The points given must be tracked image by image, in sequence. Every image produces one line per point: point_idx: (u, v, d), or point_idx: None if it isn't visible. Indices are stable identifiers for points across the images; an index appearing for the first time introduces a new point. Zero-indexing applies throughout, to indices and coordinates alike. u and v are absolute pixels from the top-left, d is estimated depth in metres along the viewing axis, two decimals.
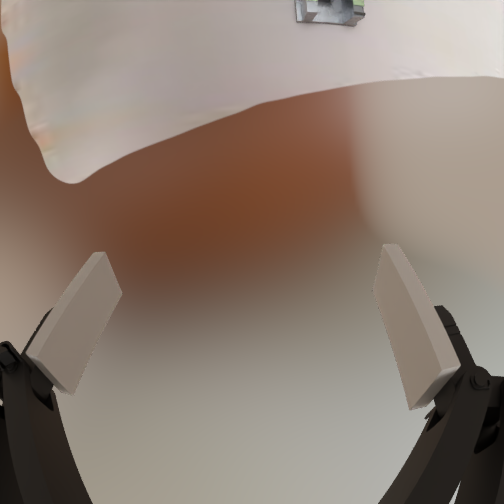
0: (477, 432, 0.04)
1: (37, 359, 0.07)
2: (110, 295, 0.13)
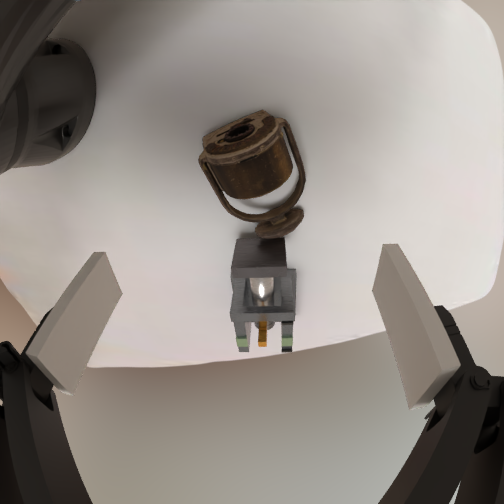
0: (477, 433, 0.04)
1: (37, 359, 0.07)
2: (110, 295, 0.13)
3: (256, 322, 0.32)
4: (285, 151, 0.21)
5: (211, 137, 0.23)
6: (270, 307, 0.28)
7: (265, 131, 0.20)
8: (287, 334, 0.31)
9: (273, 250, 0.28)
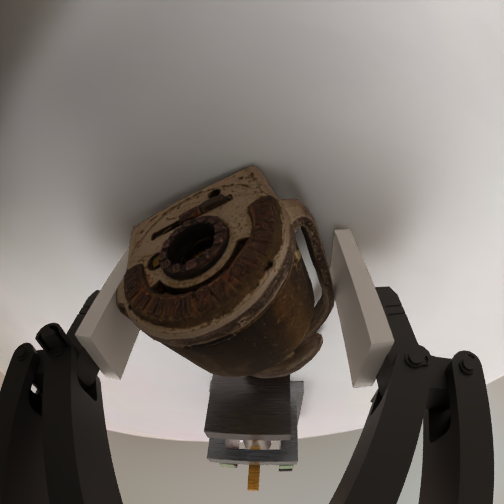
0: (422, 411, 0.05)
1: (89, 340, 0.08)
2: None
3: (246, 447, 0.20)
4: (302, 289, 0.10)
5: (142, 238, 0.11)
6: (264, 452, 0.16)
7: (253, 265, 0.08)
8: None
9: (271, 396, 0.16)
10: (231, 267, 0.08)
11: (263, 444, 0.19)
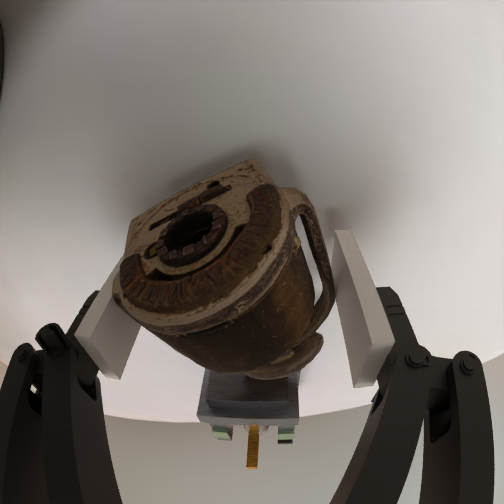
0: (423, 411, 0.05)
1: (88, 340, 0.08)
2: None
3: (245, 427, 0.22)
4: (302, 279, 0.09)
5: (140, 229, 0.11)
6: None
7: (252, 248, 0.07)
8: (286, 429, 0.18)
9: None
10: (229, 251, 0.08)
11: None
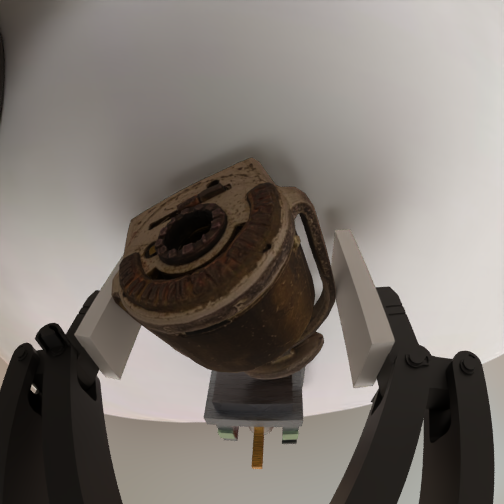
0: (422, 411, 0.05)
1: (89, 340, 0.08)
2: None
3: (250, 428, 0.22)
4: (302, 278, 0.09)
5: (140, 228, 0.11)
6: None
7: (251, 246, 0.07)
8: (290, 430, 0.19)
9: None
10: (228, 249, 0.08)
11: None
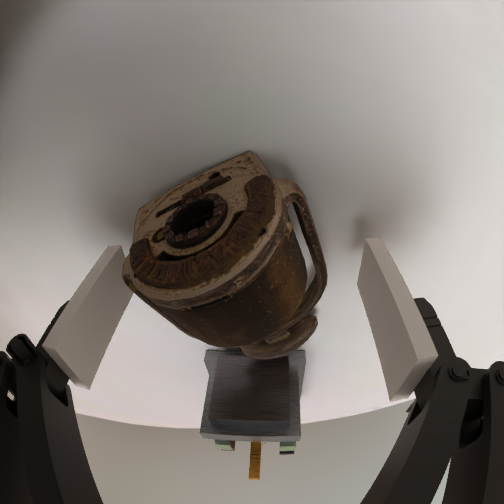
0: (459, 424, 0.05)
1: (54, 351, 0.08)
2: (125, 289, 0.13)
3: None
4: (294, 260, 0.10)
5: (147, 216, 0.12)
6: None
7: (249, 231, 0.09)
8: (288, 442, 0.18)
9: (271, 384, 0.17)
10: (229, 234, 0.09)
11: None
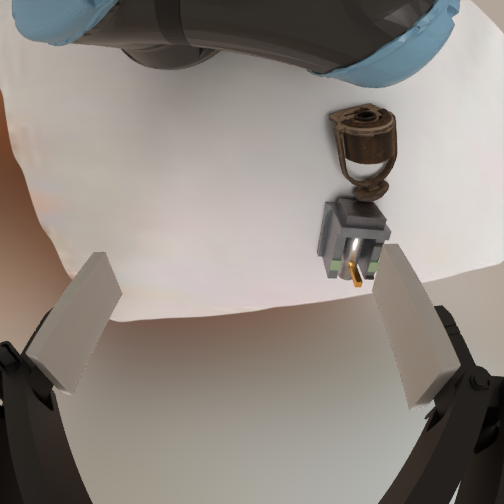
0: (477, 432, 0.04)
1: (37, 359, 0.07)
2: (110, 295, 0.13)
3: (342, 272, 0.37)
4: None
5: (339, 116, 0.28)
6: None
7: (387, 118, 0.25)
8: (374, 259, 0.34)
9: (370, 208, 0.33)
10: (382, 118, 0.25)
11: (356, 261, 0.36)
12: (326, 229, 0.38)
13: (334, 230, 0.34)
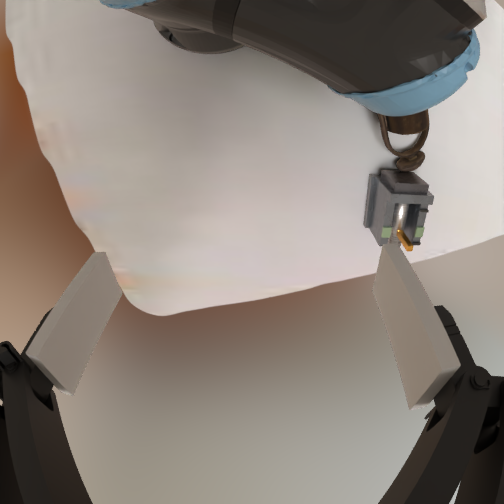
0: (477, 432, 0.04)
1: (37, 359, 0.07)
2: (110, 295, 0.13)
3: (390, 240, 0.37)
4: None
5: None
6: None
7: None
8: (420, 224, 0.33)
9: (412, 177, 0.32)
10: None
11: (403, 229, 0.35)
12: (372, 200, 0.37)
13: (382, 199, 0.33)
